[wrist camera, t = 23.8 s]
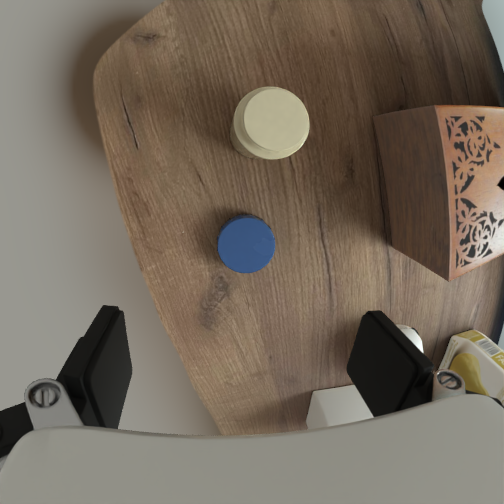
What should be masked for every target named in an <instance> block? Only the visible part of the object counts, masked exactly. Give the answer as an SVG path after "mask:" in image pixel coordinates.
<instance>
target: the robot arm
mask: <svg viewBox="0 0 504 504" xmlns="http://www.w3.org/2000/svg"><path fill="white" fill-rule="evenodd" d="M433 367H434V364H433V363H432V362H431V361H430V360H429V359H428V358H427V357H426V356H425V355H424V354H423V353H422V352H421V351H420V350H419V349H418V348H417V346H416V345H415V344H414V343H413V342H412V341H411V340H410V339H409V338H408V337H407V336H406V335H405V334H404V333H403V332H402V331H401V330H400V329H399V328H398V327H397V326H396V325H395V324H394V323H393V322H392V321H391V320H390V319H389V318H388V317H387V316H386V315H385V314H384V313H383V312H382V311H380V310H378V311H368V312H366V314H365V315H363V316H362V319H361V322H360V326H359V329H358V333H357V336H356V339H355V342H354V345H353V349H352V352H351V355H350V358H349V361H348V364H347V373H348V375H349V377H350V378H351V380H352V382H353V383H354V385H355V387H356V388H357V390H358V392H359V393H360V395H361V397H362V398H363V400H364V402H365V403H366V405H367V407H368V408H369V410H370V412H371V413H372V415H373V417H374V418H369V419H365V420H360V421H355V422H350V423H345V424H340V425H334V426H328V427H322V428H315V429H308V430H300V431H291V432H281V433H269V434H254V435H226V436H205V435H178V434H161V433H148V432H138V431H129V430H121V429H118V425H119V421H120V417H121V413H122V409H123V405H124V401H125V398H126V394H127V390H128V387H129V383H130V379H131V375H132V364H131V358H130V352H129V346H128V340H127V333H126V326H125V319H124V312H123V311H120V310H119V308H118V306H107V305H103V306H102V308H101V309H100V311H99V312H98V314H97V316H96V317H95V319H94V320H93V322H92V324H91V325H90V327H89V329H88V330H87V332H86V334H85V335H84V337H81V338H80V339H79V340H78V342H77V343H76V345H75V347H74V348H73V350H72V352H71V354H70V355H69V357H68V359H67V361H66V362H65V364H64V366H63V368H62V370H61V371H60V373H59V375H58V377H57V379H56V380H54V379H50V378H44V379H39V380H36V381H34V382H32V383H31V384H30V385H29V386H28V387H27V389H26V390H25V393H24V398H25V402H24V403H21V404H18V405H15V406H13V407H10V408H7V409H4V410H2V411H0V504H504V406H503V405H502V403H501V401H500V400H499V399H497V398H493V397H489V396H486V395H482V394H479V393H476V392H472V391H469V390H466V389H465V382H464V380H463V378H462V377H461V376H460V375H459V374H458V373H456V372H454V371H452V370H449V369H439V370H437V371H436V372H435V373H434V374H433V373H432V372H431V371H432V369H433Z"/></svg>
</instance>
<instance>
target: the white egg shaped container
mask: <svg viewBox="0 0 504 504" xmlns="http://www.w3.org/2000/svg"><path fill="white" fill-rule="evenodd" d="M395 325H396V326H397V327H398V328H399V329H400V330H401V331H402V332H403V333H404V334H405V335H406V336H407V337H408V338H409V339H410V340H411V341H412V342H413V343H414V344H415V345H416V346H417V348H418V349H419V350H420V351H421V352H422V353H423V346H422V340H421V339H420V337H419V334H418V332H417V330H415V329H414V328H410V327H408V326H406V325H402V324H395Z"/></svg>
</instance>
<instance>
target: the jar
mask: <svg viewBox="0 0 504 504" xmlns="http://www.w3.org/2000/svg"><path fill="white" fill-rule="evenodd" d="M308 132H309V116H308V112H307V110H306V108H305V106H304V104H303V103H302V102H301V100H300V99H299V98H298V97H297V96H295V95H294V94H293V93H291V92H290V91H288V90H285V89H283V88H279V87H271V86H269V87H261V88H258V89H255V90H253V91H251V92H250V93H248V94H247V95H246V96H244V97H243V98H242V100H241V101H240V102H239V104H238V106H237V108H236V110H235V113H234V116H233V119H232V123H231V126H230V139H231V142H232V145H233V146H234V148H235V149H236V150H237V151H238V152H239V153H240V154H241V155H243V156H245V157H247V158H250V159H281V158H285V157H287V156H290V155H291V154H293V153H295V152H296V151H297V150H298V149H299V148H300V147H301V146H302V145H303V144H304V142H305V140H306V138H307V136H308Z"/></svg>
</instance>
